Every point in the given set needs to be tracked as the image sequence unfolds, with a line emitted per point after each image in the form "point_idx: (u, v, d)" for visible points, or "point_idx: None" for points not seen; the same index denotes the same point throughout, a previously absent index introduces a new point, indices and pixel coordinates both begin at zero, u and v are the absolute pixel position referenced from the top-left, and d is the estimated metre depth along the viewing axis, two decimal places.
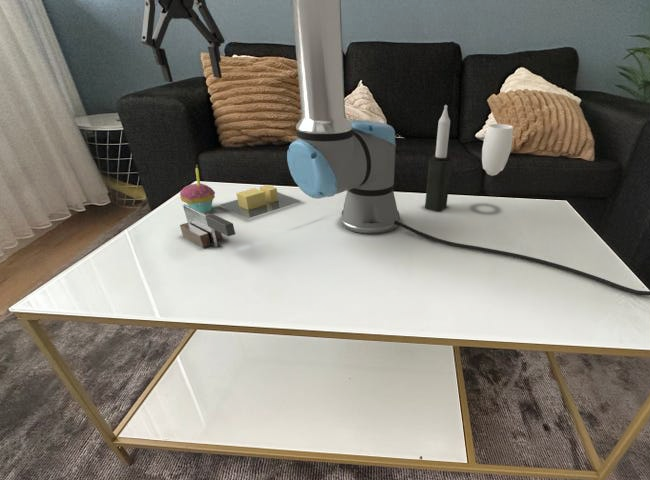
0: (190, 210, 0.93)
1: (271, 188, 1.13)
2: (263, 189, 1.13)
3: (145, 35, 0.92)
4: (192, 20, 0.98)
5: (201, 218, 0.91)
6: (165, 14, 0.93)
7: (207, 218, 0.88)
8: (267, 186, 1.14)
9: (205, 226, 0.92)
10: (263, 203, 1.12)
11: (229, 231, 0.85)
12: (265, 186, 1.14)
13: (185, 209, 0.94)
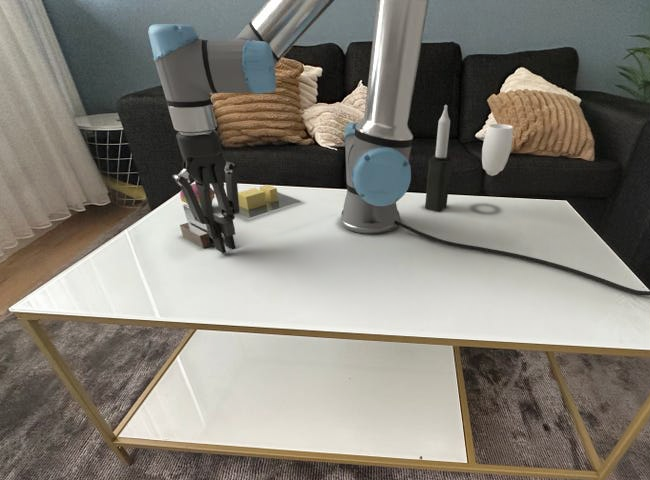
0: (190, 210, 0.93)
1: (271, 188, 1.13)
2: (263, 189, 1.13)
3: (197, 217, 0.82)
4: (214, 185, 0.83)
5: None
6: (203, 188, 0.80)
7: None
8: (267, 186, 1.14)
9: (205, 226, 0.92)
10: (263, 203, 1.12)
11: (229, 231, 0.85)
12: (265, 186, 1.14)
13: (185, 209, 0.94)
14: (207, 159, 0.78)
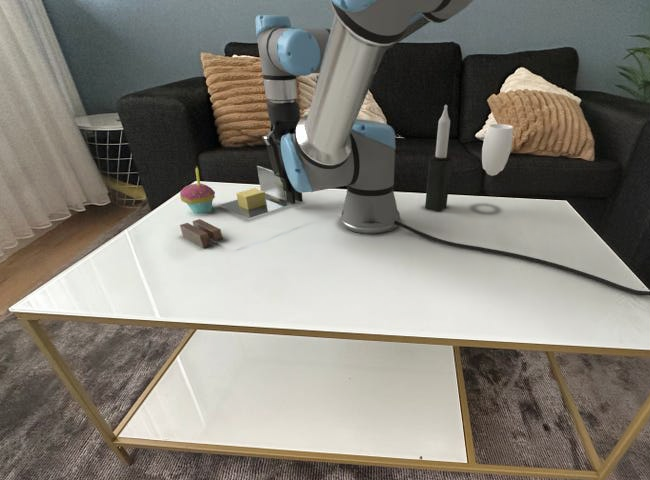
0: (264, 170, 1.13)
1: None
2: None
3: (277, 172, 1.02)
4: None
5: (273, 176, 1.11)
6: None
7: None
8: None
9: (277, 183, 1.12)
10: (263, 203, 1.12)
11: None
12: None
13: (259, 169, 1.14)
14: (288, 123, 0.98)
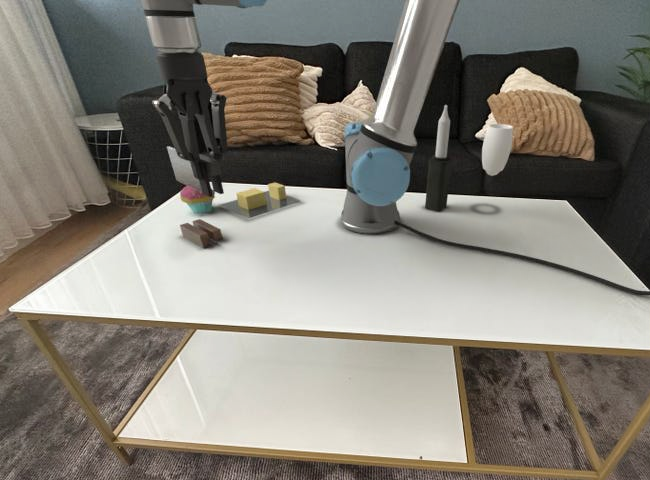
0: (174, 151, 0.85)
1: (279, 186, 1.15)
2: (271, 187, 1.15)
3: (180, 152, 0.75)
4: (199, 118, 0.75)
5: (185, 160, 0.84)
6: (186, 118, 0.73)
7: None
8: (275, 184, 1.16)
9: (190, 168, 0.84)
10: (263, 203, 1.12)
11: (215, 170, 0.78)
12: (273, 184, 1.16)
13: (169, 151, 0.87)
14: (191, 84, 0.71)
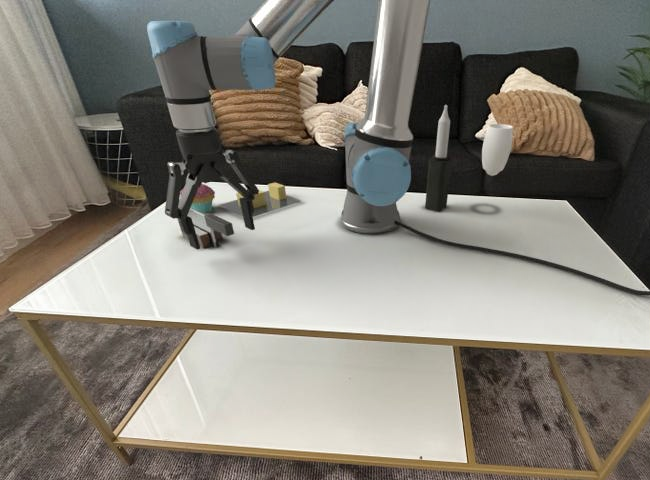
0: (189, 210, 0.93)
1: (279, 186, 1.15)
2: (271, 187, 1.15)
3: (170, 209, 0.77)
4: (223, 178, 0.83)
5: (200, 218, 0.91)
6: (193, 182, 0.78)
7: (206, 218, 0.88)
8: (275, 184, 1.16)
9: (204, 226, 0.92)
10: (263, 203, 1.12)
11: (228, 231, 0.85)
12: (273, 184, 1.16)
13: None
14: (207, 156, 0.78)
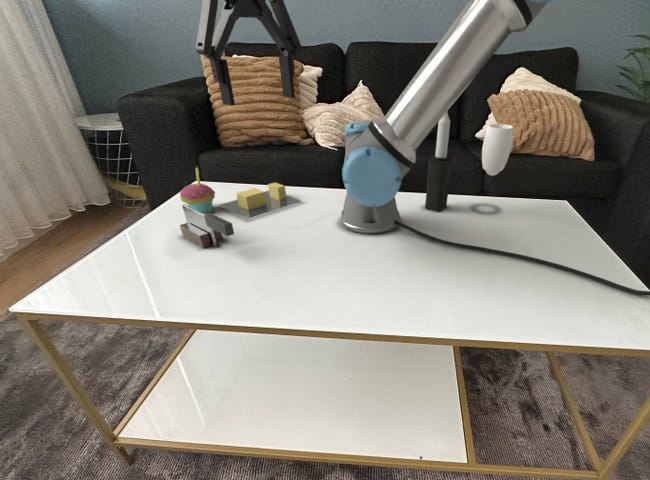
0: (189, 210, 0.93)
1: (279, 186, 1.15)
2: (271, 187, 1.15)
3: (202, 41, 0.65)
4: (263, 19, 0.71)
5: (200, 218, 0.91)
6: (230, 11, 0.65)
7: (206, 218, 0.88)
8: (275, 184, 1.16)
9: (204, 226, 0.92)
10: (263, 203, 1.12)
11: (228, 231, 0.85)
12: (273, 184, 1.16)
13: (184, 209, 0.94)
14: None
